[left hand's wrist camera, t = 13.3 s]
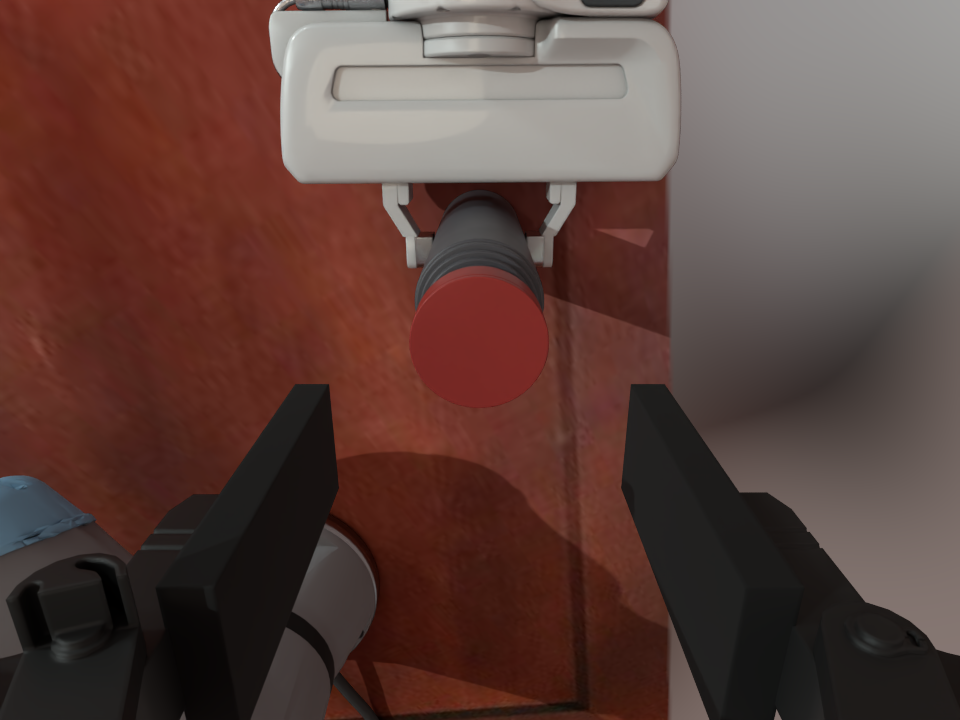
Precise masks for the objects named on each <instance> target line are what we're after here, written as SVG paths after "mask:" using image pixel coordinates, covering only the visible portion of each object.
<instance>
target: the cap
mask: <svg viewBox="0 0 960 720" xmlns="http://www.w3.org/2000/svg"><path fill="white" fill-rule="evenodd" d="M409 344H410V353H411V358H412V361H413V364H414V367H415V369H416V371H417V373H418V375H419V376H420V378H421V379H422V381H423V382H424V383H425V384H426V385H427V386H428V387H429V388H430V389H431V390H432V391H433V392H434V393H436V394H437V395H439V396H440V397H441V398H443V399H445V400H447V401H449V402H452V403H454V404H457V405H461V406H465V407H472V408H487V407H494V406H498V405H502V404H504V403H507V402H509V401H511V400H513V399H515V398H517V397H518V396H520V395H521V394H523V393H524V392H525V391H526V390H528V389H529V388H530V387H531V386H532V385H533V383H534V382H535V381H536V380H537V378H538V377H539V375H540V374H541V372H542V370H543V368H544V365H545V362H546V359H547V355H548V350H549V335H548V329H547V325H546V321H545V318H544V315H543V312H542V309H541V307H540V304H539V302H538V300H537V298H536V297H535V295H534V294H533V292H532V291H531V290H530V288H529V287H528V286H527V285H526V284H525V283H524V282H522V281H521V280H520V279H518V278H517V277H516V276H514V275H512V274H510V273H508V272H506V271H504V270H501V269H497V268H494V267H487V266H471V267H465V268H461V269H457V270H455V271H452V272H450V273H448V274H446V275H445V276H443V277H441V278H440V279H439V280H437V281H436V282H435V283H434V284H433V285H432V286H431V287H430V288H429V289H428V290H427V291H426V293H425V294H424V295H423V297H422V299H421V301H420V303H419V305H418V308H417V310H416V313H415V316H414V319H413V322H412V326H411V331H410V339H409Z"/></svg>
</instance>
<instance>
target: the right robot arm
mask: <svg viewBox="0 0 960 720" xmlns="http://www.w3.org/2000/svg"><path fill="white" fill-rule="evenodd" d="M668 1H669V0H281V1H280V2H279V3H278V4H277V6H276V7H275V8H274V10H273V12H272V14H271V16H270V21H269V36H270V44H271V53H272V60H273V64H274V67H275V69H276V71H277V73H278V74H279V76H280V77H281V79H282V81H281V108H280V118H281V146H282V157H283V163H284V165H285V167H286V168H287V169H288V170H289V172H290V173H291V174H292V175H293V176H294V177H295V178H296V179H297V181H298V182H300V183H302V184H352V183H382V192H383V206H384V207H385V209H386V210H387V212H388V214H389V215H390V217H391V218H392V220H393V221H394V223H395V225H396V226H397V228H398V229H399V231H400V232H401V234H402V235H403V237H406V251H407V265H408V268H423V267H424V264H425V262H426V259H427V257H428V254H429V251H430V249H431V246H432V243H433V241H434V238H435V232H420V229H419V228H418V226H417V224H416V223H415V221H414V219H413V217H412V216H411V214H410V212H409V211H408V209H407V207H406V206H405V205H408V203H409V202H410V201H411V200H412V199H413V183H485V182H546V198H547V199H548V200H549V202H550V203H551V204H553V206H552V208H551V210H550V211H549V213H548V215H547V217H546V218H545V220H544V222H543V223H542V225H541V227H540V229H539V231H525V239H526V242H527V245H528V248H529V250H530V253H531V256H532V259H533V261H534V264H535V267H552V262H553V236H556V235H557V233H558V232H559V230H560V228H561V227H562V225H563V224H564V222H565V220H566V219H567V217H568V215H569V214H570V212H571V211H572V209H573V207H574V206H575V203H576V184H577V182H617V181H659V180H661V179H662V178H663V177H664V176H665V175H666V174H667V173H668V172H669V171H670V169H671V168H672V167H673V166H674V164H675V163H676V161H677V158H678V152H679V143H680V127H681V77H680V62H679V56H678V51H677V47H676V44H675V42H674V40H673V38H672V36H671V34H670V33H669V32H668V30H667V29H666V28H665V27H664V26H662V25H661V24H660V23H658V22H656V21H654V20H652V19H654V18H655V17H656V16H658V15H659V14H660V13H661V12H662V11H663V10H664V8H665V7H666V6H667V4H668ZM294 4H296V7H297V8H298V9H299V10H302V11H285V10H286V9H287V8H288V7H290V6H292V5H294ZM387 8H388V9H389V20H390V21H388V12H387ZM333 9H335V10H338V11H325V10H333ZM339 9H340V10H339Z"/></svg>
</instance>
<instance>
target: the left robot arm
mask: <svg viewBox="0 0 960 720" xmlns="http://www.w3.org/2000/svg"><path fill="white" fill-rule="evenodd" d="M338 489H339V485H338V475H337V464H336V454H335V443H334V433H333V422H332V412H331V401H330V390H329V384H295V386H294V387H293V388H292V390H291V391H290V393H289V394H288V396H287V397H286V399H285V400H284V402H283V403H282V404H281V406H280V407H279V409H278V410H277V412H276V413H275V415H274V416H273V417H272V419H271V420H270V422H269V423H268V425H267V426H266V428H265V429H264V430H263V432H262V433H261V435H260V436H259V438H258V439H257V441H256V442H255V444H254V445H253V446H252V448H251V449H250V451H249V452H248V454H247V455H246V457H245V458H244V459H243V461H242V462H241V464H240V465H239V467H238V468H237V470H236V471H235V473H234V474H233V475H232V477H231V478H230V480H229V481H228V483H227V484H226V486H225V487H224V488H223V490H222V491H221V493H220V494H193V495H192V496H190V497H189V498H187V499H186V500H185V501H183V502H182V503H180V504H179V505H177V506H176V507H174V508H173V509H171V510H170V511H169V512H168V513H167V514H166V516H165V517H164V518H163V519H162V521H161V522H160V523H159V524H158V526H157V527H156V528H155V529H154V534H151V535H150V536H149V537H148V538H147V540H146V541H145V542H144V543H143V545H142V546H141V550H138V551H137V552H136V554H135V555H134V556H132V555H131V554H130V553H129V552H128V551H127V550H125V549H124V548H123V547H122V546H121V545H120V544H119V543H117V542H116V541H115V540H114V539H113V538H112V537H111V536H110V535H108V534H107V533H106V532H105V531H104V530H103V529H102V528H101V527H100V526H99V525H97V524H96V523H95V521H96V519H95V518H94V516H93V515H91V514H85V513H83V512H82V511H81V510H79V509H78V508H77V507H75V506H74V505H73V504H71V503H70V502H69V501H68V500H66V499H65V498H64V497H62V496H61V495H60V494H58V493H57V492H56V491H54V490H53V489H52V488H51V487H49V486H48V485H47V484H45V483H44V482H42V481H41V480H38V479H36V478H33V477H29V476H8V477H3V478H0V720H324V717H325V713H326V709H327V705H328V701H329V697H330V693H331V689H332V685H333V684H334V685H335V687H336V688H337V689H338V690H339V691H340V692H341V694H342V695H343V696H344V697H345V698H346V699H347V700H348V701H349V702H350V703H351V705H352V706H353V707H354V708H355V709H356V710H357V711H358V712H359V713H360V714H361V715H362V717H363V718H364V719H365V720H379V718H378V717H377V715H376V714H375V713H374V711H373V710H372V709H371V708H370V706H369V705H368V704H367V703H366V702H365V701H364V700H363V699H362V697H361V696H360V695H359V694H358V693H357V692H356V691H355V690H354V689H353V687H352V686H351V685H350V684H349V683H348V682H347V680H346V679H345V678H344V677H343V676H342V674H341V673H340V672H339V671H340V670H341V668H342V667H343V665H344V663H345V661H346V659H347V657H348V655H349V653H350V652H352V651H353V650H354V649H355V648H356V646H357V645H358V644H359V643H360V641H361V640H362V639H363V637H364V636H365V634H366V632H367V631H368V629H369V627H370V625H371V623H372V621H373V618H374V615H375V610H376V605H377V600H378V596H379V587H380V586H379V575H378V570H377V566H376V563H375V561H374V558H373V556H372V554H371V553H370V551H369V549H368V548H367V546H366V545H365V543H364V542H363V541H362V540H361V538H360V537H359V536H358V535H357V534H356V533H355V532H354V531H353V530H352V529H351V528H349V527H348V526H347V525H346V524H344V523H343V522H341V521H340V520H338V519H337V518H335V517H333V516H331V515H330V514H329V512H330V510H331V507H332V504H333V502H334V499H335V496H336V494H337V491H338ZM621 489H622V491H623V494H624V496H625V499H626V502H627V504H628V507H629V510H630V512H631V515H632V517H633V520H634V523H635V525H636V528H637V531H638V533H639V536H640V538H641V541H642V544H643V546H644V549H645V552H646V554H647V557H648V559H649V562H650V565H651V567H652V570H653V573H654V575H655V578H656V580H657V583H658V586H659V588H660V591H661V594H662V596H663V599H664V601H665V604H666V607H667V609H668V612H669V615H670V617H671V620H672V622H673V625H674V628H675V630H676V633H677V636H678V638H679V641H680V643H681V646H682V649H683V651H684V654H685V657H686V659H687V662H688V664H689V667H690V670H691V672H692V675H693V678H694V680H695V683H696V686H697V688H698V691H699V693H700V696H701V699H702V701H703V704H704V706H705V709H706V712H707V714H708V717H709V720H774V717H775V713H776V709H777V711H778V713H779V715H780V717H781V719H782V720H960V656H958V655H954V654H950V653H946V652H943V651H939V650H936V649H935V647H934V646H933V644H932V643H931V641H930V640H929V638H928V637H927V635H925V634H924V633H923V632H922V631H921V630H920V629H918V628H917V627H916V626H915V625H914V624H912V623H911V622H910V621H908V620H907V619H905V618H903V617H901V616H899V615H898V614H896V613H894V612H892V611H890V610H888V609H885V608H882V607H879V606H876V605H873V604H870V603H866V602H865V601H864V600H863V599H862V597H861V596H860V595H859V594H858V592H857V591H856V590H855V589H854V587H853V586H852V585H851V584H850V582H849V581H848V580H847V578H846V577H845V576H844V575H843V573H842V572H841V571H840V570H839V568H838V567H837V566H836V565H835V563H834V562H833V561H832V560H831V558H830V557H829V556H828V555H827V553H826V552H825V551H824V549H823V548H820V547H819V543H818V542H817V541H816V539H815V538H814V537H813V536H812V534H811V533H810V532H807V530H806V529H807V528H806V527H805V526H804V524H803V523H802V522H801V521H800V519H799V518H798V517H797V516H796V514H795V513H794V512H793V511H792V509H791V508H789V507H788V506H786V505H785V504H783V503H782V502H780V501H779V500H777V499H776V498H774V497H773V496H771V495H770V494H768V493H739V491H738V490H737V488H736V487H735V486H734V484H733V483H732V481H731V480H730V478H729V477H728V475H727V474H726V473H725V471H724V470H723V468H722V467H721V465H720V464H719V462H718V461H717V460H716V458H715V457H714V455H713V454H712V452H711V451H710V449H709V448H708V446H707V445H706V444H705V442H704V441H703V439H702V438H701V436H700V435H699V433H698V432H697V431H696V429H695V428H694V426H693V425H692V423H691V422H690V420H689V419H688V418H687V416H686V415H685V413H684V412H683V410H682V409H681V407H680V406H679V404H678V403H677V402H676V400H675V399H674V397H673V396H672V394H671V393H670V391H669V390H668V388H667V387H666V386H665V384H631V390H630V401H629V412H628V422H627V433H626V443H625V454H624V464H623V475H622V485H621Z"/></svg>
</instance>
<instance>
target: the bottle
mask: <svg viewBox="0 0 960 720" xmlns="http://www.w3.org/2000/svg"><path fill="white" fill-rule="evenodd" d="M471 266H487V267H494V268H497V269H501V270H504V271H506V272H508V273H510V274H512V275H514V276H516V277H517V278H518V279H520V280H521V281H522V282H524V283H525V284H526V285H527V286H528V287H529V288H530V290H531V291H532V292H533V294H534V295H535V297H536V298H537V300H538V302H539V304H540V307H541V309H542V312H543V309H544V293H543V288H542V283H541V280H540V278H539V275H538V272H537V269H536V267H535V264H534V261H533V259H532V256H531V253H530V250H529V248H528V245H527V242H526V239H525V237H524V234H523V231H522V228H521V226H520V223H519V220H518V218H517V215H516V212H515V211H514V209H513V207H512V206H511V205H510V203H509V202H508V201H507V200H506V199H504V198H503V197H502V196H500V195H498V194H496V193H494V192H491V191H486V190H474V191H469V192H466V193H464V194H462V195H460V196H458V197H457V198H456V199H454V200H453V201H452V202H451V203H450V204H449V206H448V207H447V209H446V210H445V212H444V214H443V217H442V220H441V222H440V225H439V228H438V230H437V233H436V236H435V238H434V241H433V243H432V246H431V249H430V251H429V254H428V257H427V259H426V262H425V264H424V267H423V270H422V272H421V275H420V278H419V280H418V283H417V287H416V292H415V309H416V310H417V308H418V305H419V303H420V301H421V299H422V297H423V295H424V294H425V293H426V291H427V290H428V289H429V288H430V287H431V286H432V285H433V284H434V283H435V282H436V281H437V280H439V279H440V278H441V277H443V276H445V275H446V274H448V273H450V272H452V271H455V270H457V269H461V268H465V267H471Z"/></svg>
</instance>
